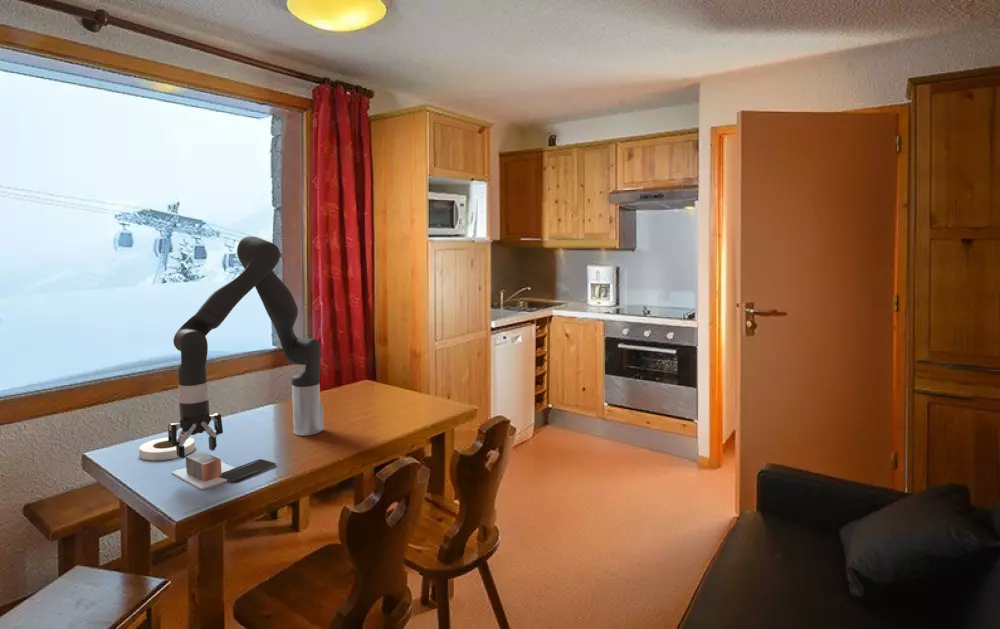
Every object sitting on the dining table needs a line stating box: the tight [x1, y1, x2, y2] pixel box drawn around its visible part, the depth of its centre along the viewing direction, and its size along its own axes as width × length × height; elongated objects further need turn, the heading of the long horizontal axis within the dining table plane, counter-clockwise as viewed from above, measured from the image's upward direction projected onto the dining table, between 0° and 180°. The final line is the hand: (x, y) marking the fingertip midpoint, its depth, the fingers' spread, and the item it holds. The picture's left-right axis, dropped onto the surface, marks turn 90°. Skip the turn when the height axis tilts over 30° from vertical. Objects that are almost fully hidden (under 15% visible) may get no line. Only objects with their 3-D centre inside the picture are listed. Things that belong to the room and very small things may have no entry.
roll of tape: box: [138, 435, 196, 461], centre depth 192 cm, size 16×15×3 cm
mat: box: [171, 461, 235, 491], centre depth 174 cm, size 13×18×1 cm
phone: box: [219, 458, 277, 484], centre depth 176 cm, size 8×1×15 cm
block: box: [185, 451, 222, 482], centre depth 172 cm, size 5×5×10 cm
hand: (197, 453), depth 173 cm, fingers open, 8 cm apart
